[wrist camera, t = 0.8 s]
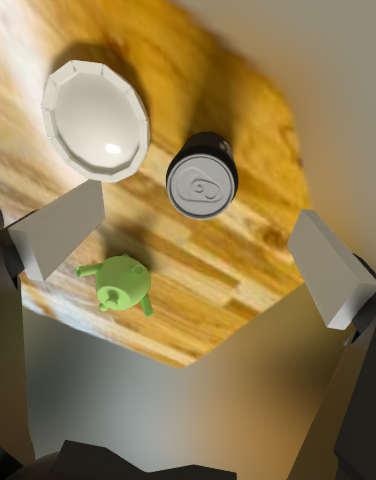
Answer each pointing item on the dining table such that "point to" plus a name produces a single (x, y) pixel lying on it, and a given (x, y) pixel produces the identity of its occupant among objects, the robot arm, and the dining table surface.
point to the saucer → (96, 121)
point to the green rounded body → (120, 283)
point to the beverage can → (202, 177)
